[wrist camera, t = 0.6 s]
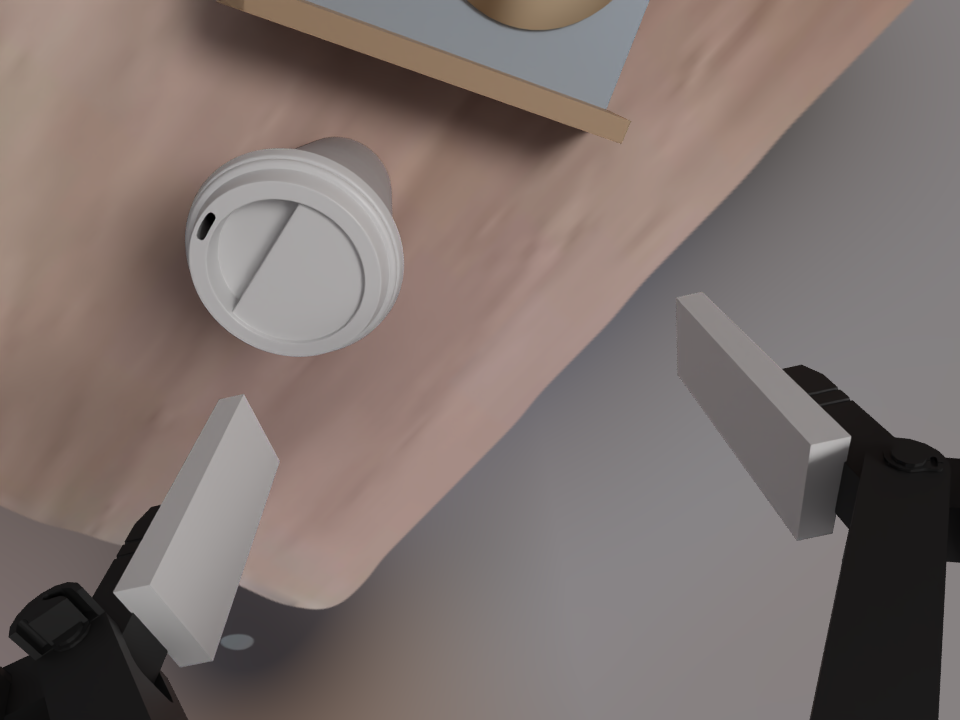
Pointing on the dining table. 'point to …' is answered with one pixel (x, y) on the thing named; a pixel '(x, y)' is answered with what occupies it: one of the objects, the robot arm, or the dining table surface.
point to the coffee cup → (297, 246)
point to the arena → (483, 50)
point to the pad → (539, 12)
